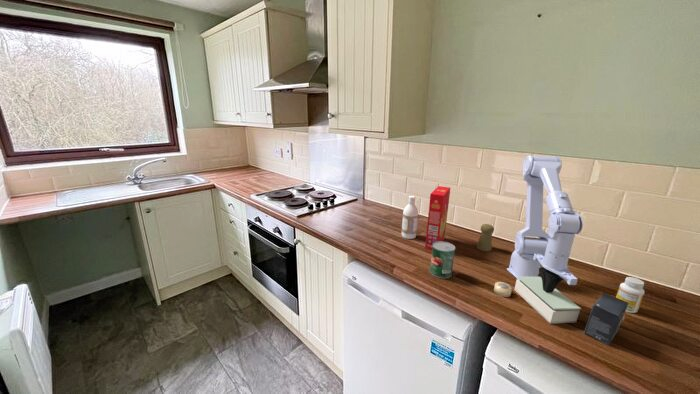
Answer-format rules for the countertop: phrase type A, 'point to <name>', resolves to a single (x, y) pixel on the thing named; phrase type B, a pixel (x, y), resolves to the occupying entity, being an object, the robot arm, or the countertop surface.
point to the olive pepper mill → (485, 238)
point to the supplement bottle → (631, 293)
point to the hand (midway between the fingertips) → (547, 291)
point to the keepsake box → (545, 306)
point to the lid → (549, 294)
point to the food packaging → (437, 216)
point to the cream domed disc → (502, 289)
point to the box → (605, 318)
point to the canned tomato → (442, 259)
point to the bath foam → (410, 219)
